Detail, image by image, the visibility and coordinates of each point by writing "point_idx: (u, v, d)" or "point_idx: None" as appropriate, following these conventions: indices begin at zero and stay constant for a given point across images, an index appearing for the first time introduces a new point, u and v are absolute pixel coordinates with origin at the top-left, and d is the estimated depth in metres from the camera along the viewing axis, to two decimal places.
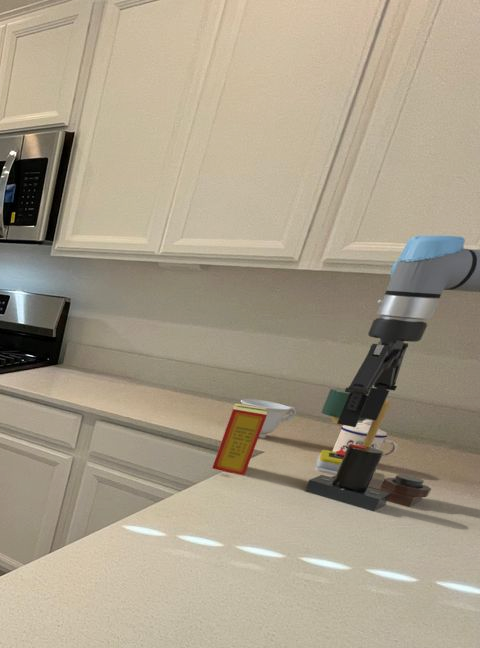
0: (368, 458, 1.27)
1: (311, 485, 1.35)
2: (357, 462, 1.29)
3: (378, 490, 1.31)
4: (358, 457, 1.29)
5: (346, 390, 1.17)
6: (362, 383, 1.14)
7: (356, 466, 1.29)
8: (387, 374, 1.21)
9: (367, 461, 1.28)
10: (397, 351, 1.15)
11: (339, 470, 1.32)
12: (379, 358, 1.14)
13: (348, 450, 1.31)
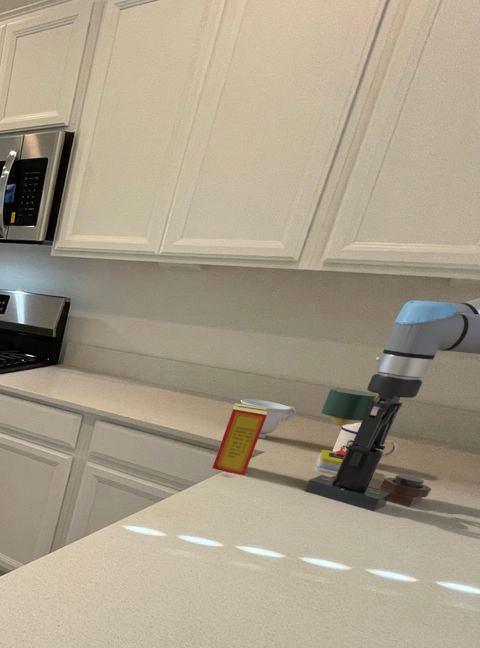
0: (368, 458, 1.27)
1: (311, 485, 1.35)
2: None
3: (378, 490, 1.31)
4: None
5: (348, 448, 1.28)
6: (362, 444, 1.25)
7: None
8: (380, 430, 1.29)
9: (367, 461, 1.28)
10: (394, 406, 1.24)
11: (339, 470, 1.32)
12: (375, 420, 1.23)
13: (348, 450, 1.31)
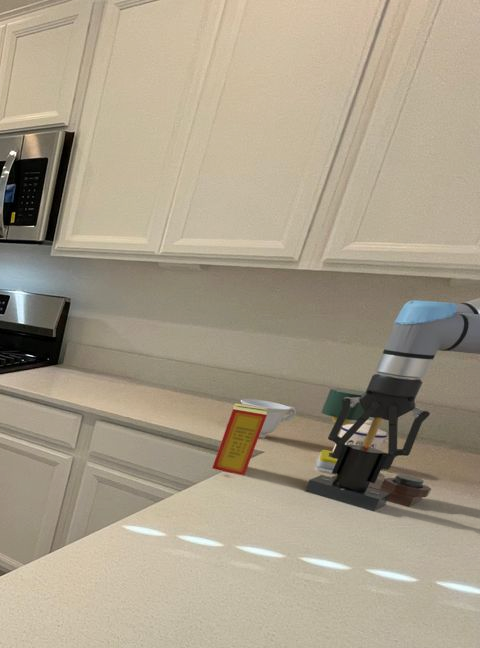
0: (347, 452, 1.31)
1: (311, 485, 1.35)
2: None
3: (378, 490, 1.31)
4: None
5: None
6: None
7: (342, 460, 1.32)
8: None
9: (346, 456, 1.31)
10: (374, 402, 1.26)
11: None
12: (341, 410, 1.31)
13: None
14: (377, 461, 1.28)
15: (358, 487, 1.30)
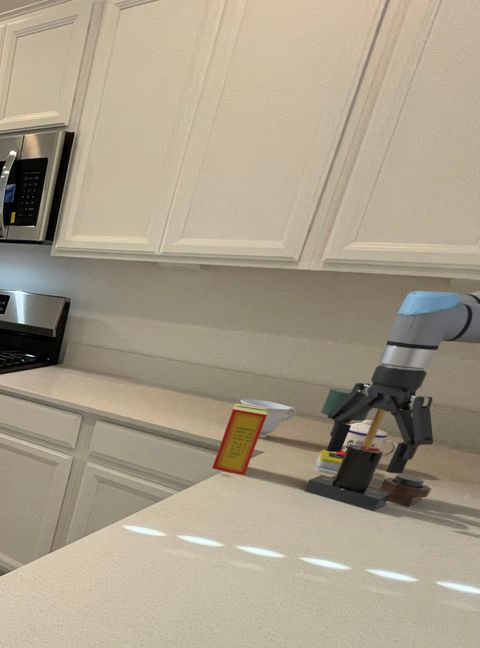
0: None
1: (311, 485, 1.35)
2: None
3: (378, 490, 1.31)
4: None
5: None
6: None
7: None
8: None
9: (345, 454, 1.32)
10: None
11: None
12: None
13: None
14: (368, 460, 1.28)
15: (347, 485, 1.31)
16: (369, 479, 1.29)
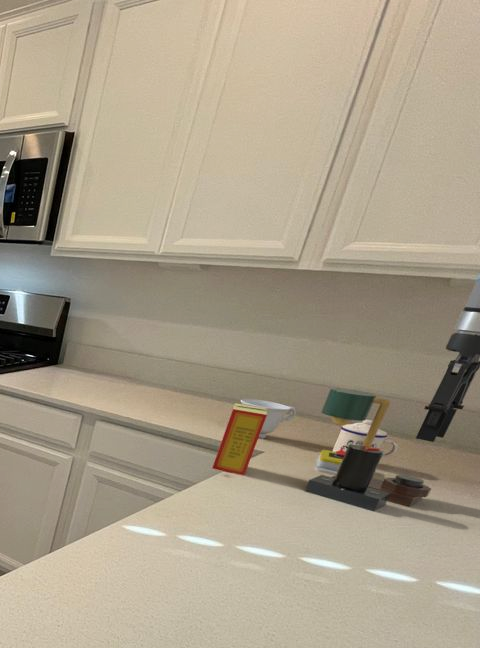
0: None
1: (311, 485, 1.35)
2: None
3: (378, 490, 1.31)
4: None
5: None
6: None
7: None
8: None
9: (345, 454, 1.32)
10: None
11: None
12: None
13: None
14: (368, 460, 1.28)
15: (347, 485, 1.31)
16: (369, 479, 1.29)
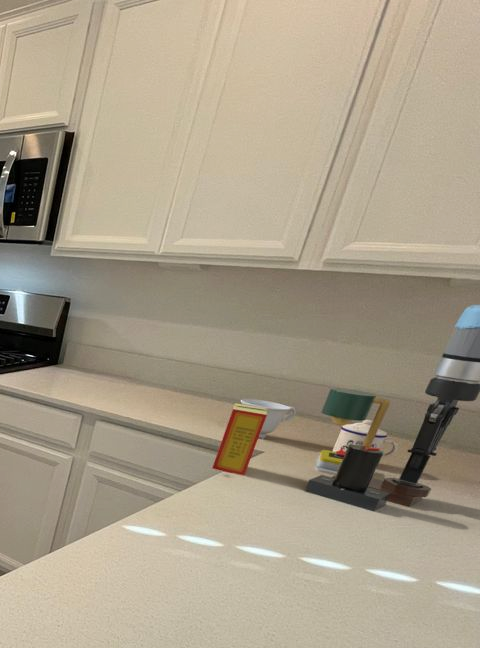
0: None
1: (311, 485, 1.35)
2: None
3: (378, 490, 1.31)
4: None
5: None
6: None
7: None
8: None
9: (345, 454, 1.32)
10: None
11: None
12: None
13: None
14: (368, 460, 1.28)
15: (347, 485, 1.31)
16: (369, 479, 1.29)
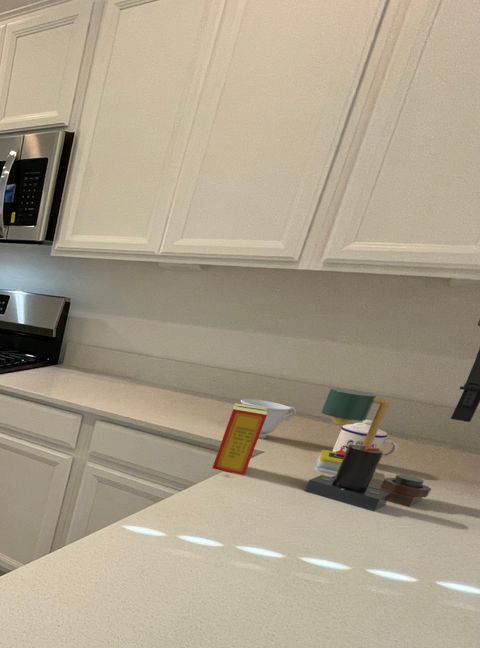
0: None
1: (311, 485, 1.35)
2: None
3: (378, 490, 1.31)
4: None
5: None
6: None
7: None
8: None
9: (345, 454, 1.32)
10: None
11: None
12: None
13: None
14: (368, 460, 1.28)
15: (347, 485, 1.31)
16: (369, 479, 1.29)
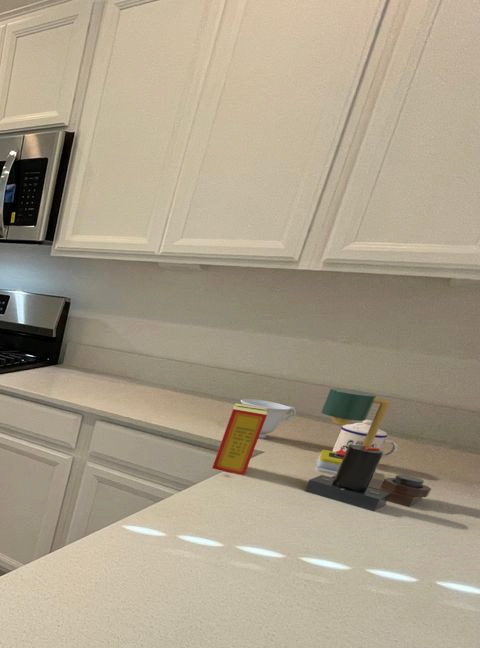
0: None
1: (311, 485, 1.35)
2: None
3: (378, 490, 1.31)
4: None
5: None
6: None
7: None
8: None
9: (345, 454, 1.32)
10: None
11: None
12: None
13: None
14: (368, 460, 1.28)
15: (347, 485, 1.31)
16: (369, 479, 1.29)
